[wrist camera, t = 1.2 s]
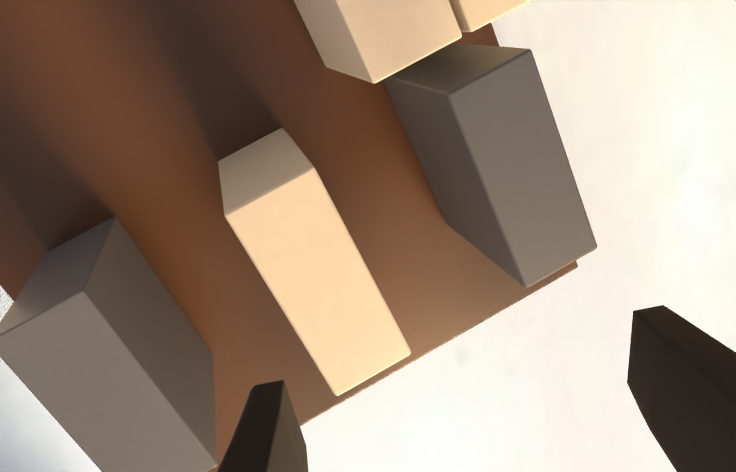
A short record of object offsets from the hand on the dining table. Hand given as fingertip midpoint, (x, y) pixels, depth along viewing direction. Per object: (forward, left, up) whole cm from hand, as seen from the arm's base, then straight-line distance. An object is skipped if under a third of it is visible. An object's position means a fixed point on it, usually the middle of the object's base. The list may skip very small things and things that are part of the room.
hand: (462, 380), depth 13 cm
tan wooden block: (-2, +1, -10) cm, 10 cm away
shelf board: (-2, +3, -11) cm, 12 cm away
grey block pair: (-2, +1, -11) cm, 11 cm away
